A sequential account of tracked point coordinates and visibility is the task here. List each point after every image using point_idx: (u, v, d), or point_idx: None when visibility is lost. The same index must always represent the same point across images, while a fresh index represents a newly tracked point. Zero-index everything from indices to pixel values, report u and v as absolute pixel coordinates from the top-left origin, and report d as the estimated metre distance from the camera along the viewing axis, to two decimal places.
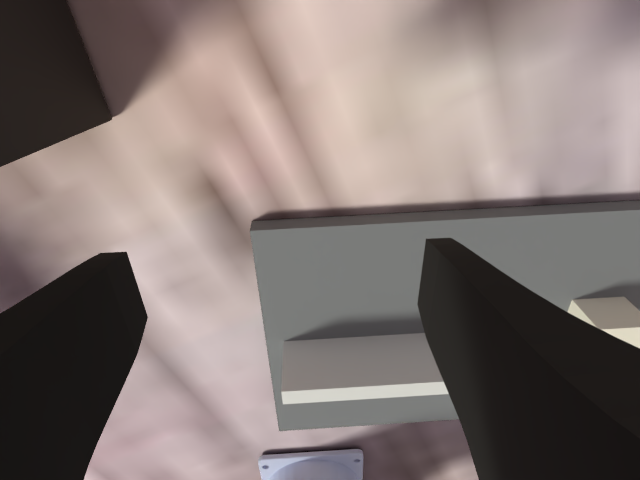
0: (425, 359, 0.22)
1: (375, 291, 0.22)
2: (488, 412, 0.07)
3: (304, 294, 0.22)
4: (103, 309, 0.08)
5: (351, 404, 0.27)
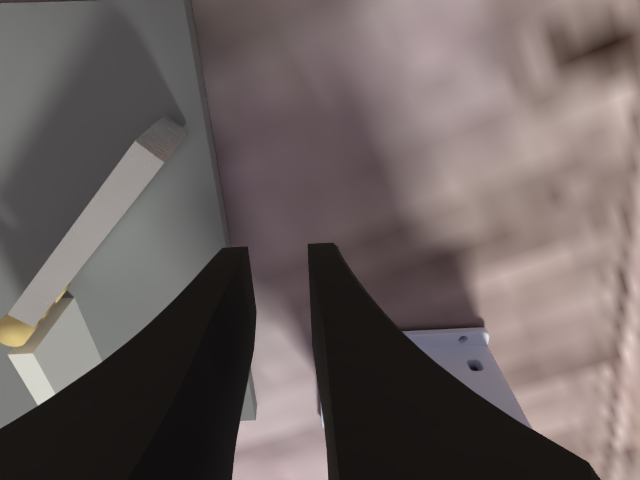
0: None
1: None
2: (326, 421, 0.07)
3: None
4: (240, 303, 0.08)
5: None
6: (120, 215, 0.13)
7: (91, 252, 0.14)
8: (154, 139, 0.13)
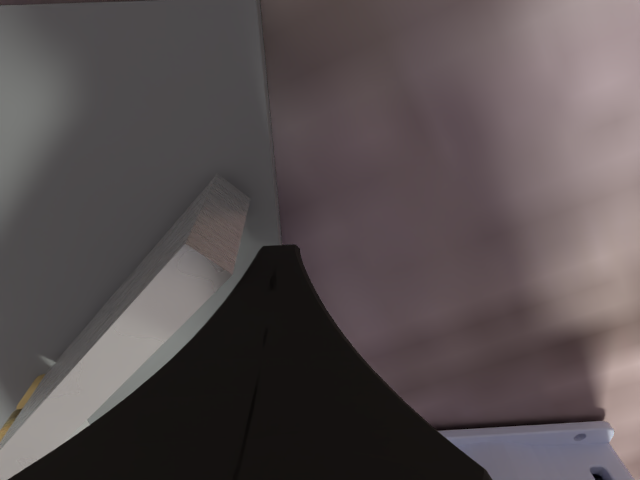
0: None
1: None
2: None
3: None
4: None
5: None
6: (154, 348, 0.08)
7: (107, 396, 0.09)
8: (211, 228, 0.08)
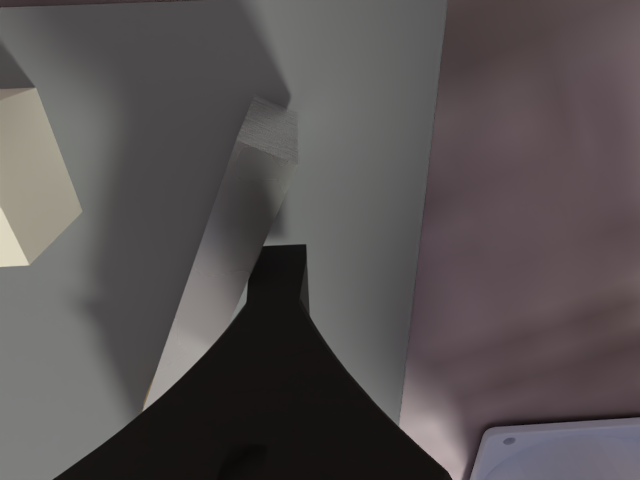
0: None
1: None
2: None
3: None
4: (306, 299, 0.08)
5: None
6: (243, 284, 0.07)
7: None
8: (262, 131, 0.07)
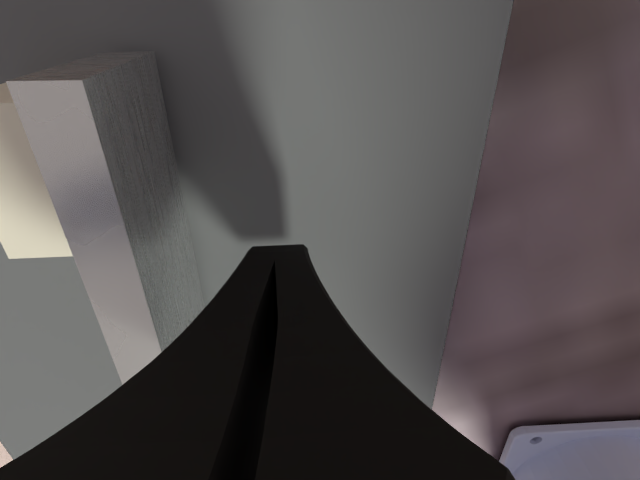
0: None
1: None
2: None
3: None
4: (274, 301, 0.08)
5: None
6: (125, 239, 0.07)
7: (151, 325, 0.08)
8: (65, 69, 0.06)
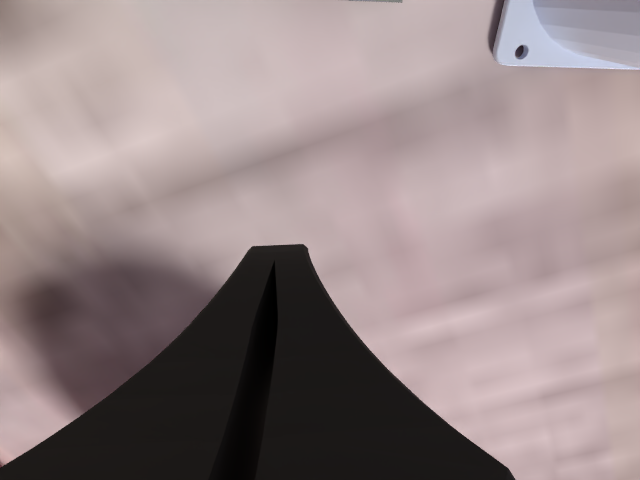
0: None
1: None
2: None
3: None
4: (274, 301, 0.08)
5: None
6: None
7: None
8: None
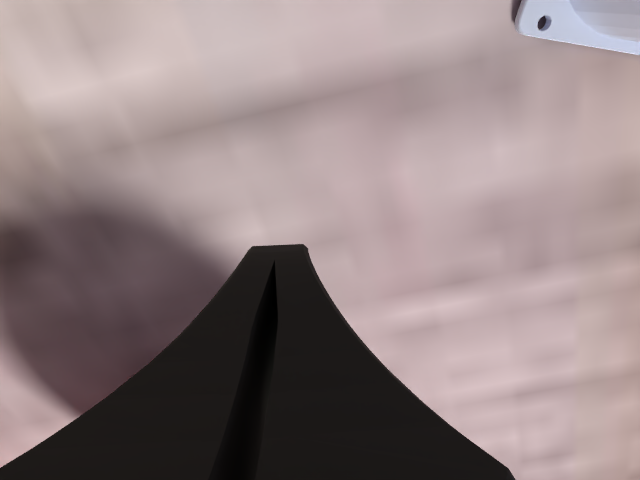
0: None
1: None
2: None
3: None
4: (274, 301, 0.08)
5: None
6: None
7: None
8: None
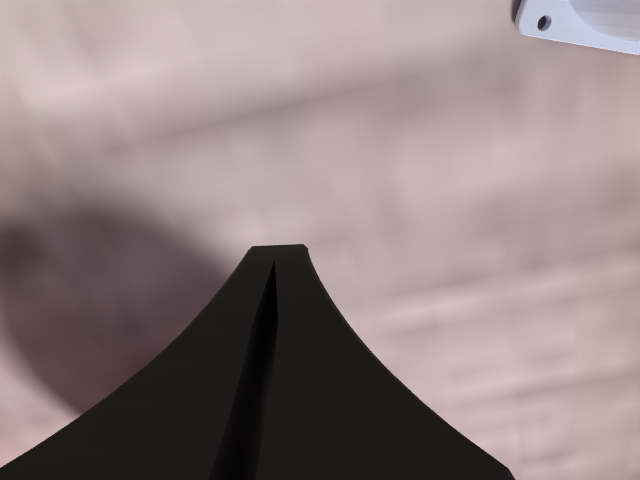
0: None
1: None
2: None
3: None
4: (274, 301, 0.08)
5: None
6: None
7: None
8: None
